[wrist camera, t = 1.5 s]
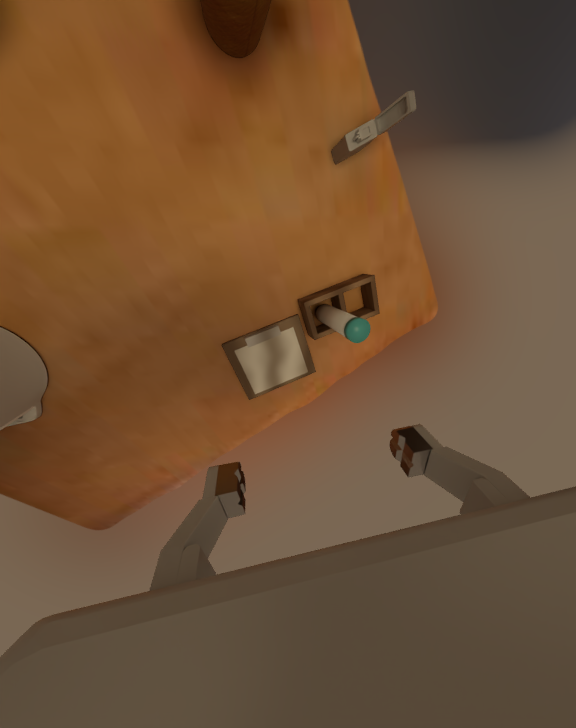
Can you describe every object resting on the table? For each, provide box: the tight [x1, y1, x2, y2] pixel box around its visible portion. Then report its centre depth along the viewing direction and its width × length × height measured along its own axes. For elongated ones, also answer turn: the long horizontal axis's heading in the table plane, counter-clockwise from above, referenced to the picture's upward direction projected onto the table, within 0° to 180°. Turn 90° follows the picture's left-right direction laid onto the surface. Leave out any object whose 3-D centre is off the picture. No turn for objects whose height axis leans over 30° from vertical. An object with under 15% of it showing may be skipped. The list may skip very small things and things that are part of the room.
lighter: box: [331, 91, 416, 164], centre depth 28 cm, size 7×2×8 cm, turn 117°
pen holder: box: [298, 274, 380, 340], centre depth 39 cm, size 12×7×4 cm, turn 109°
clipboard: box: [222, 314, 316, 400], centre depth 41 cm, size 14×12×2 cm
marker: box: [316, 304, 370, 343], centre depth 34 cm, size 3×3×14 cm
